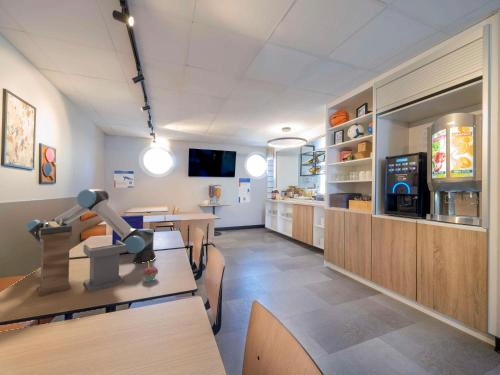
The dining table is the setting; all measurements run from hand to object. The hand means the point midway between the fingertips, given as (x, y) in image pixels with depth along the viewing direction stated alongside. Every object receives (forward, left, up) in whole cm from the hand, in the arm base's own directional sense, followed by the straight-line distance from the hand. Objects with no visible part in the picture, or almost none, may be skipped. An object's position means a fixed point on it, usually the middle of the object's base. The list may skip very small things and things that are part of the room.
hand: (53, 221), depth 121 cm
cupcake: (-50, +20, -34) cm, 63 cm away
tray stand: (-26, +14, -34) cm, 45 cm away
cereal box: (-36, -45, -34) cm, 67 cm away
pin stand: (-4, +10, -34) cm, 36 cm away
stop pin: (-1, +4, -4) cm, 6 cm away
